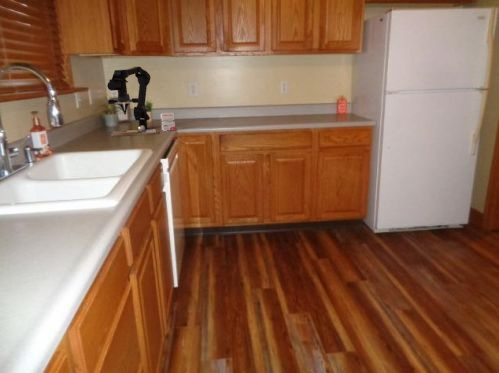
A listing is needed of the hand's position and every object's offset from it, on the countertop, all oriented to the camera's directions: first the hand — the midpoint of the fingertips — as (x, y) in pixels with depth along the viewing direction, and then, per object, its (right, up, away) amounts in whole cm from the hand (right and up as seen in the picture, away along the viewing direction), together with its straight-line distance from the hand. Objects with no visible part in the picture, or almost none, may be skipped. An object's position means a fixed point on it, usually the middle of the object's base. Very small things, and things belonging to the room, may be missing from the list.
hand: (125, 114), depth 249 cm
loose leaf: (+8, -12, -5) cm, 16 cm away
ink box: (+27, -10, +7) cm, 30 cm away
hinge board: (+9, -14, -5) cm, 17 cm away
